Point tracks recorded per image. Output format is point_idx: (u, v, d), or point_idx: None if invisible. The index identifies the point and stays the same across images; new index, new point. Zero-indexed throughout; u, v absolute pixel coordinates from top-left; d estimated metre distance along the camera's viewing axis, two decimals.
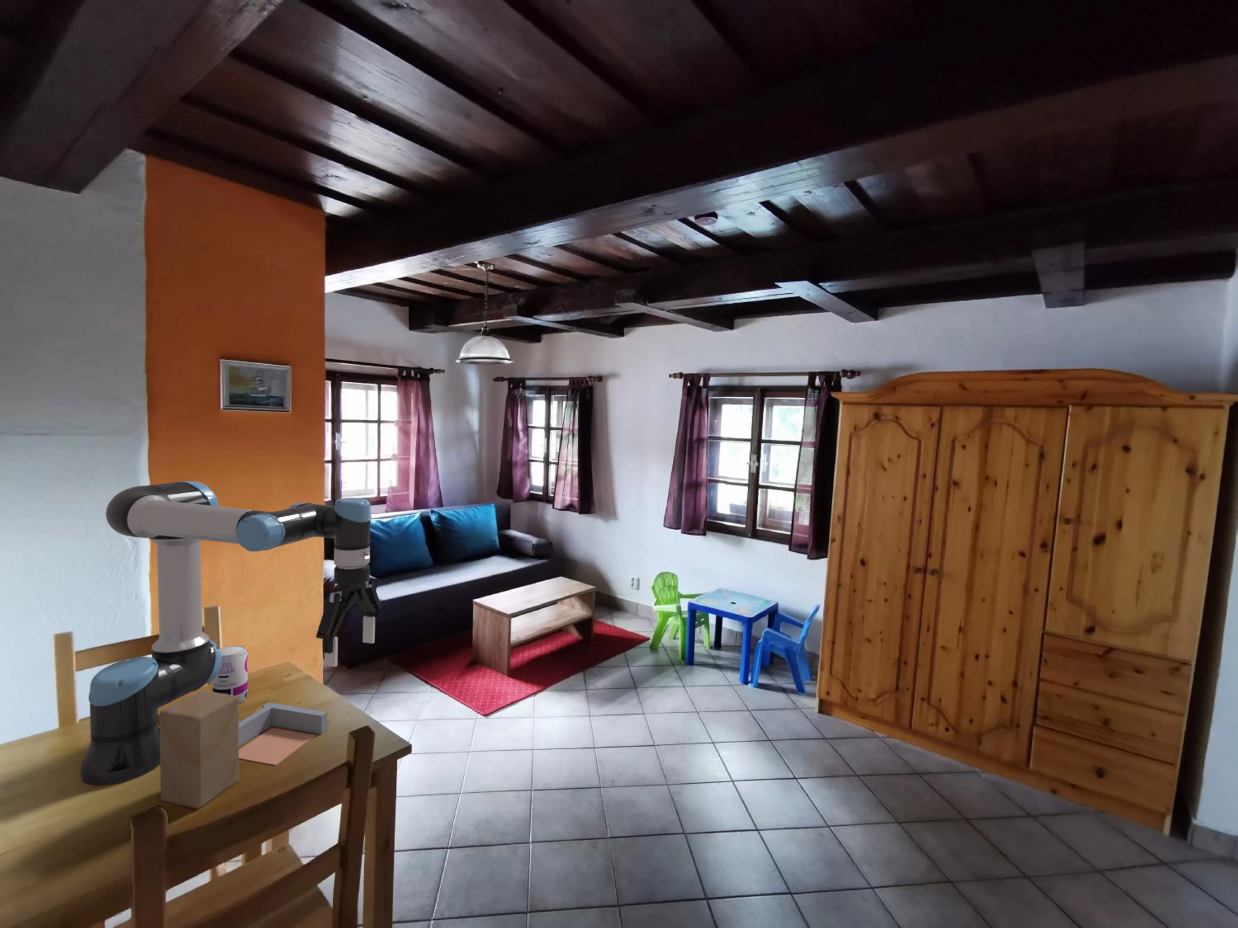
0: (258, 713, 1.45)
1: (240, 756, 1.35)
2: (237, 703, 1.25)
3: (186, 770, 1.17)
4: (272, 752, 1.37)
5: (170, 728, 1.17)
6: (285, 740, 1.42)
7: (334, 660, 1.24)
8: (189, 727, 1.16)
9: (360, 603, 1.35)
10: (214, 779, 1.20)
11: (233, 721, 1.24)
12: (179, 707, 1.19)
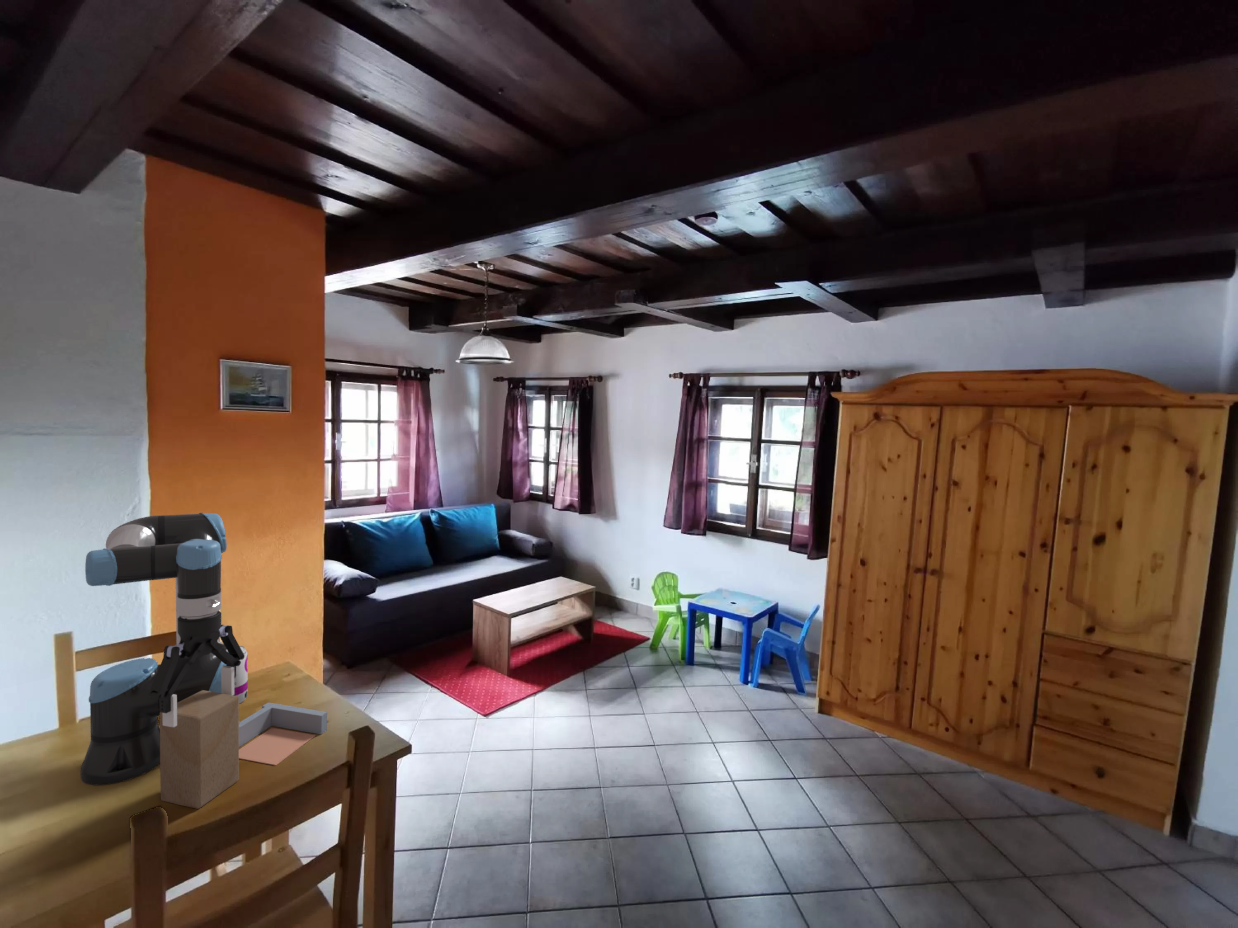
0: (258, 713, 1.45)
1: (240, 756, 1.35)
2: (237, 703, 1.25)
3: (186, 770, 1.17)
4: (272, 752, 1.37)
5: (170, 728, 1.17)
6: (285, 740, 1.42)
7: (172, 720, 1.14)
8: (189, 727, 1.16)
9: (214, 653, 1.24)
10: (214, 779, 1.20)
11: (233, 721, 1.24)
12: (179, 707, 1.19)
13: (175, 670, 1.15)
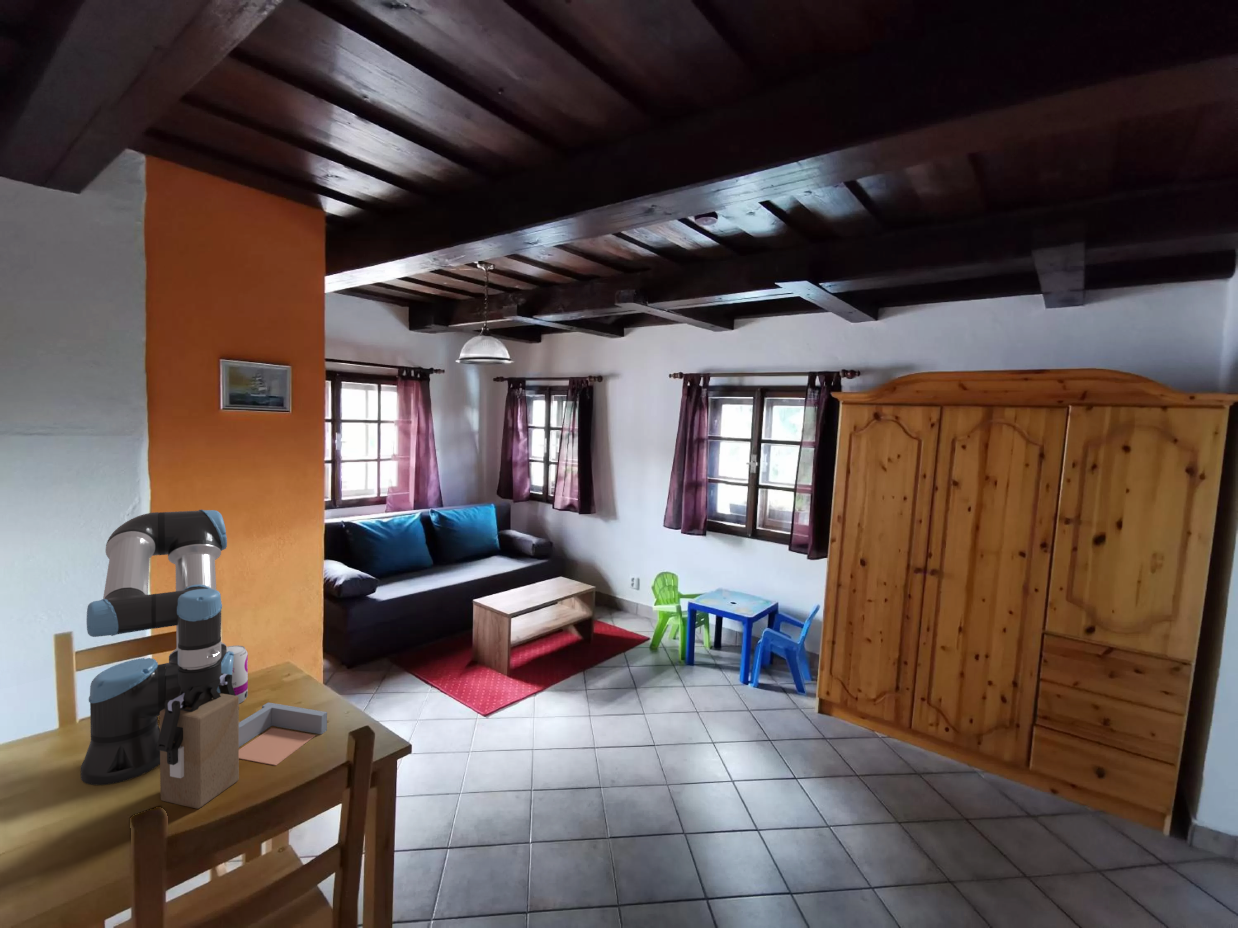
0: (258, 713, 1.45)
1: (240, 756, 1.35)
2: (237, 703, 1.25)
3: (185, 770, 1.17)
4: (272, 752, 1.37)
5: None
6: (285, 740, 1.42)
7: (179, 771, 1.16)
8: (189, 727, 1.16)
9: None
10: (214, 779, 1.20)
11: (233, 721, 1.24)
12: None
13: None
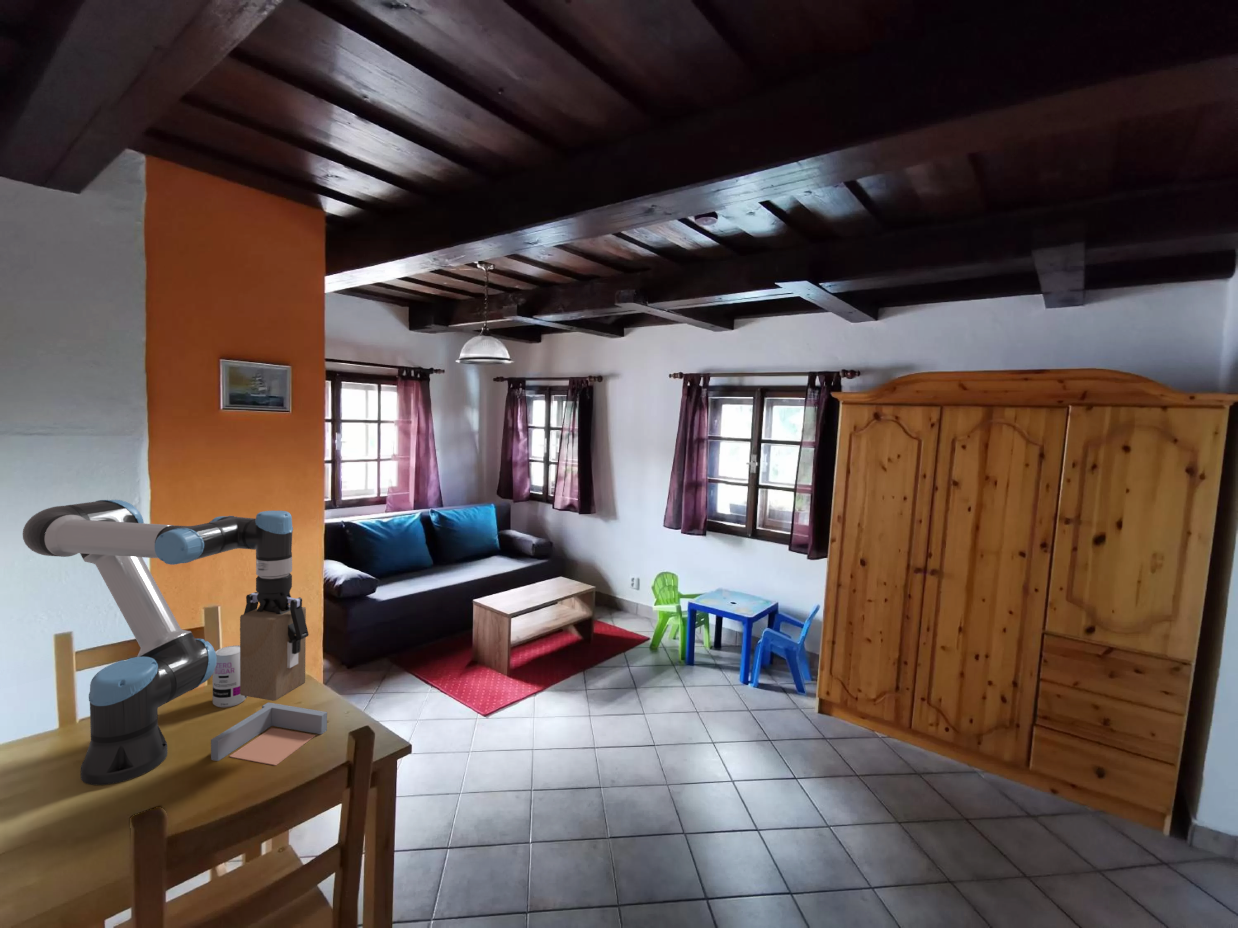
0: (258, 713, 1.45)
1: (240, 756, 1.35)
2: (272, 626, 1.31)
3: None
4: (272, 752, 1.37)
5: None
6: (285, 740, 1.42)
7: None
8: None
9: None
10: (252, 680, 1.34)
11: (268, 640, 1.32)
12: None
13: None
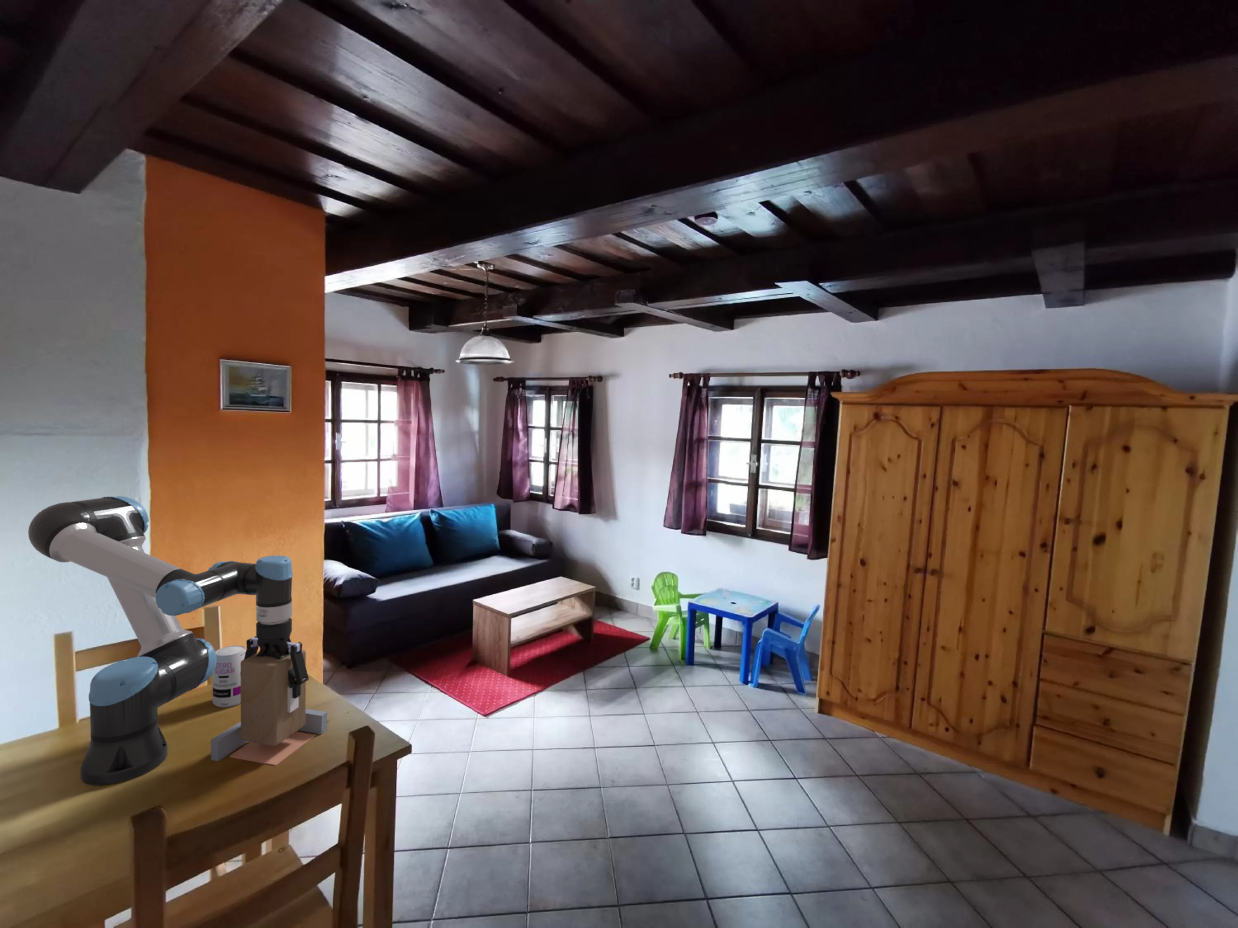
0: None
1: (240, 756, 1.35)
2: (273, 672, 1.32)
3: None
4: (272, 752, 1.37)
5: None
6: (285, 740, 1.42)
7: None
8: None
9: None
10: (252, 726, 1.35)
11: (269, 686, 1.33)
12: None
13: None
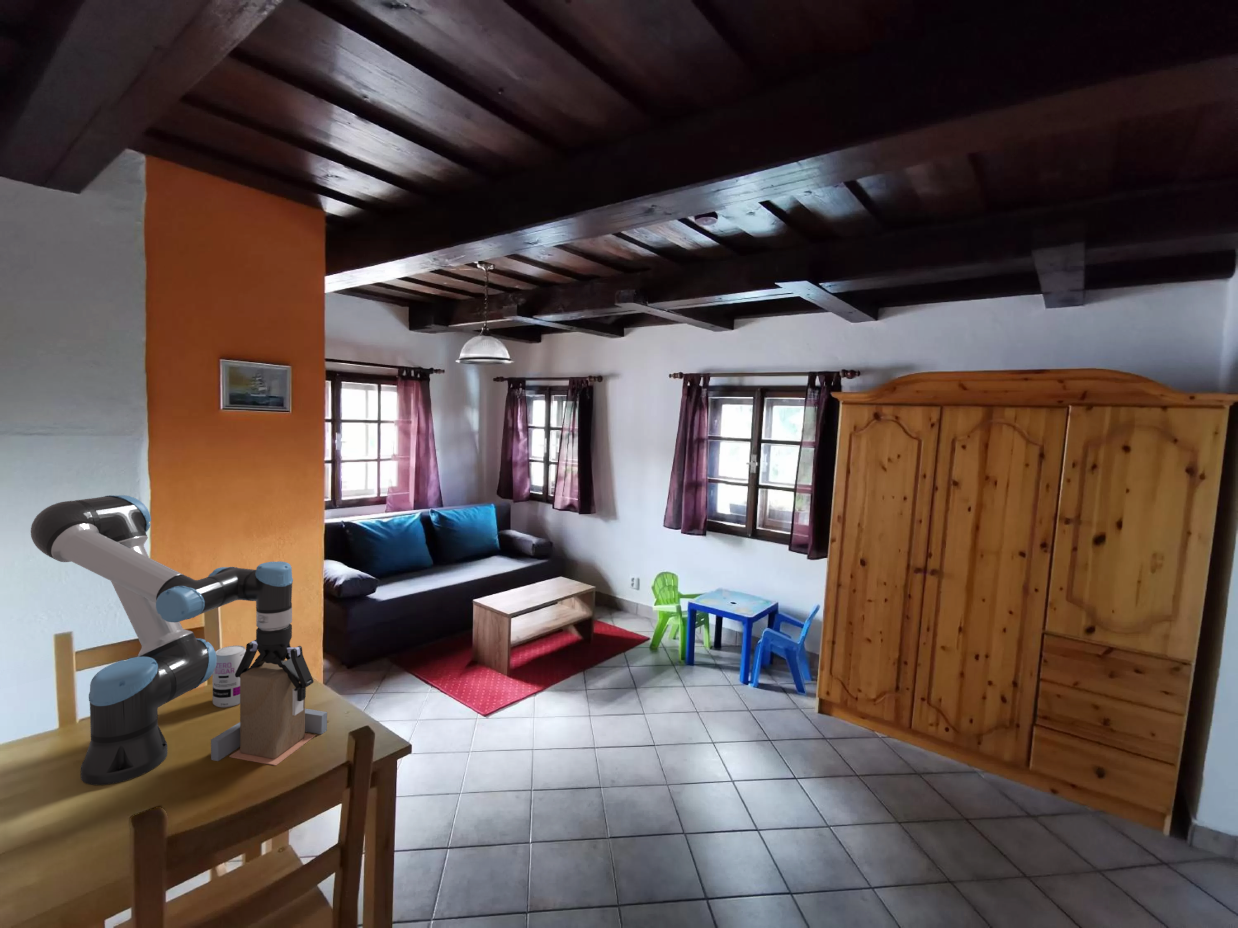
0: None
1: (240, 756, 1.35)
2: (273, 685, 1.33)
3: None
4: None
5: None
6: None
7: None
8: None
9: None
10: (252, 738, 1.35)
11: (269, 699, 1.33)
12: None
13: None
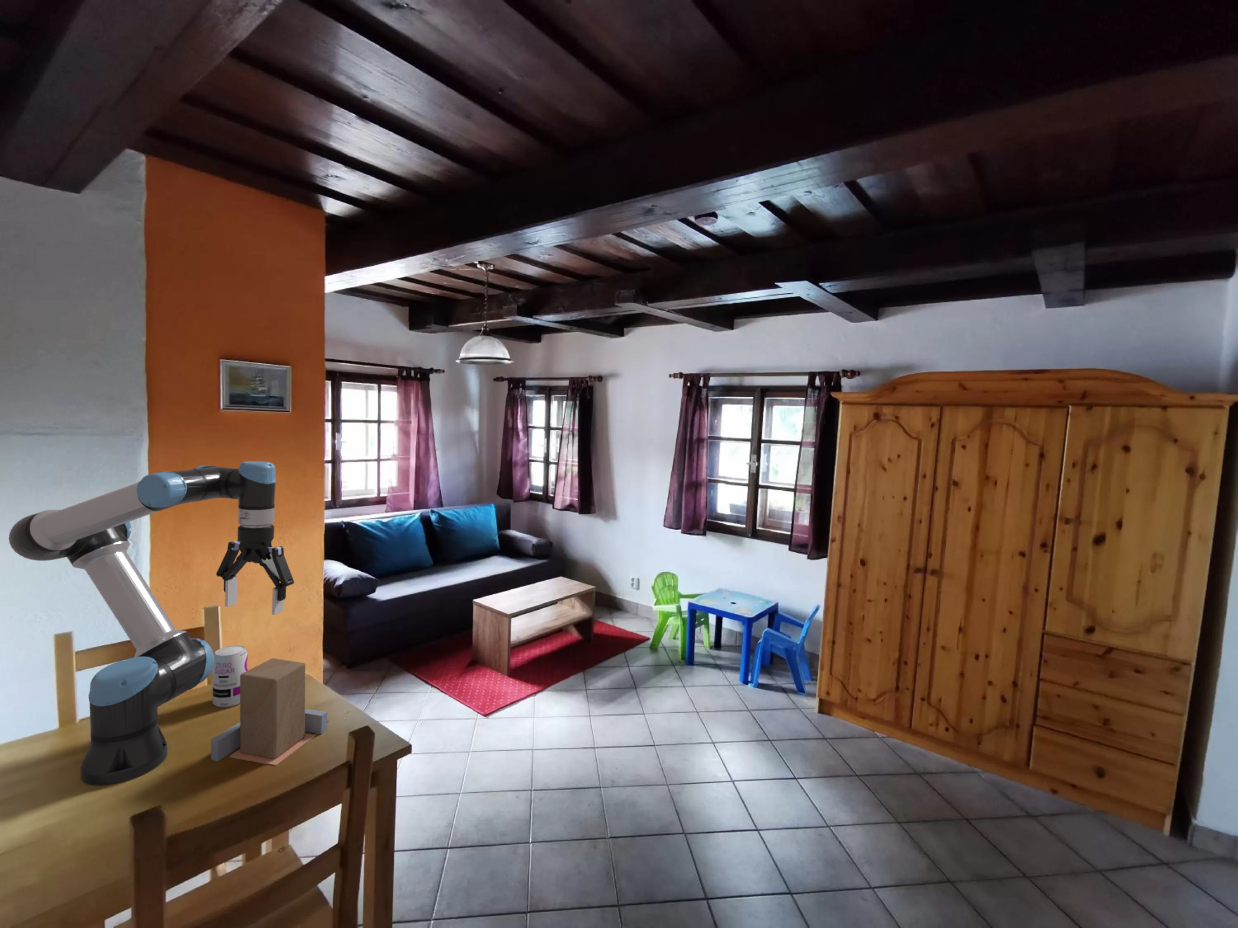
0: None
1: (240, 756, 1.35)
2: (273, 685, 1.33)
3: None
4: None
5: None
6: None
7: None
8: None
9: None
10: (252, 738, 1.35)
11: (269, 699, 1.33)
12: (271, 662, 1.41)
13: None
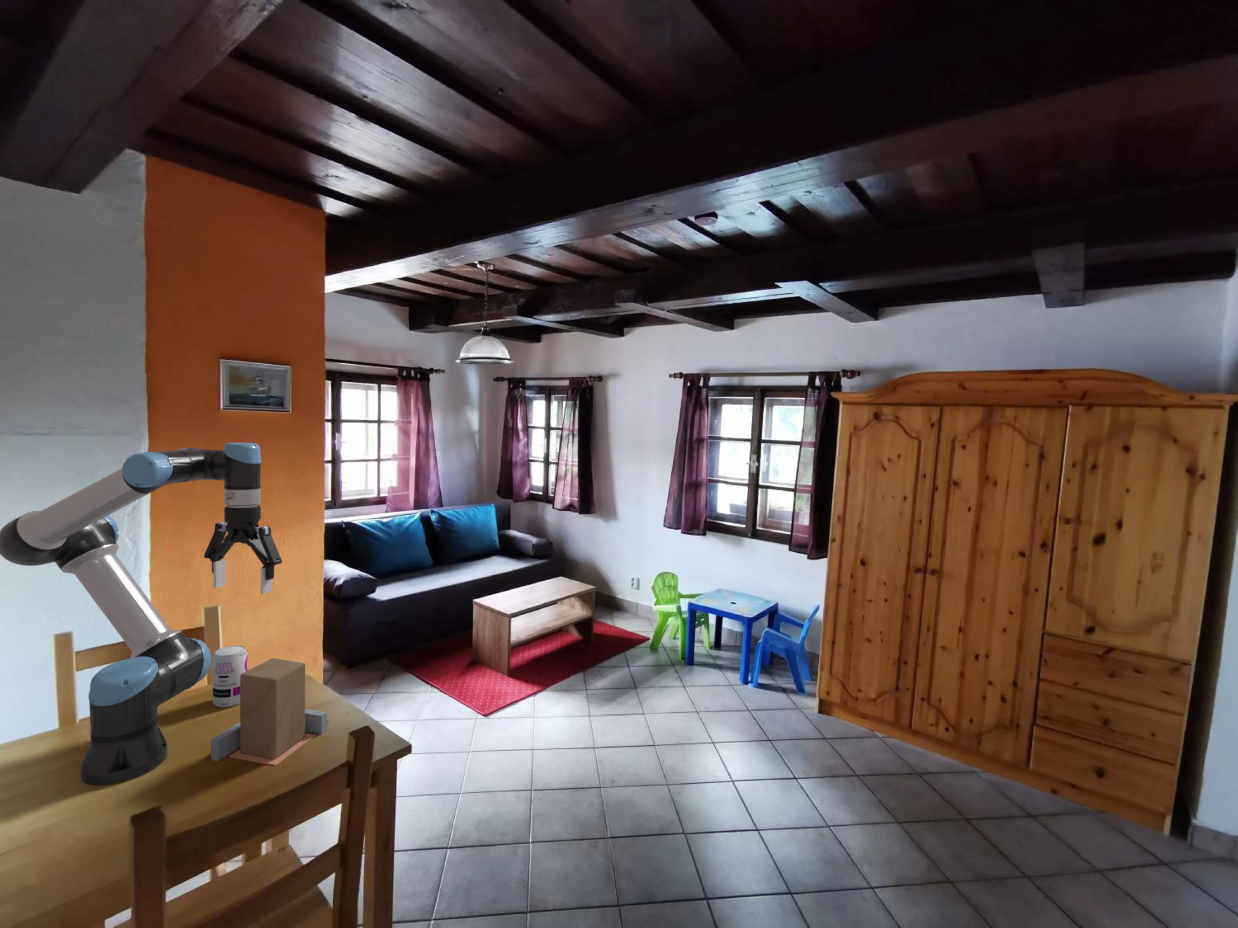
0: None
1: (240, 756, 1.35)
2: (273, 685, 1.33)
3: None
4: None
5: None
6: None
7: None
8: None
9: None
10: (252, 738, 1.35)
11: (269, 699, 1.33)
12: (271, 662, 1.41)
13: None
